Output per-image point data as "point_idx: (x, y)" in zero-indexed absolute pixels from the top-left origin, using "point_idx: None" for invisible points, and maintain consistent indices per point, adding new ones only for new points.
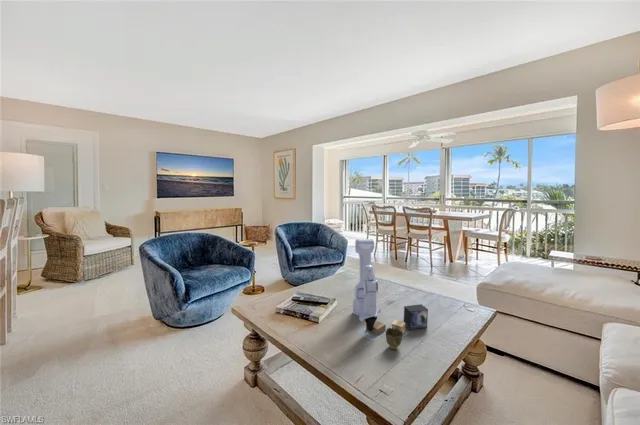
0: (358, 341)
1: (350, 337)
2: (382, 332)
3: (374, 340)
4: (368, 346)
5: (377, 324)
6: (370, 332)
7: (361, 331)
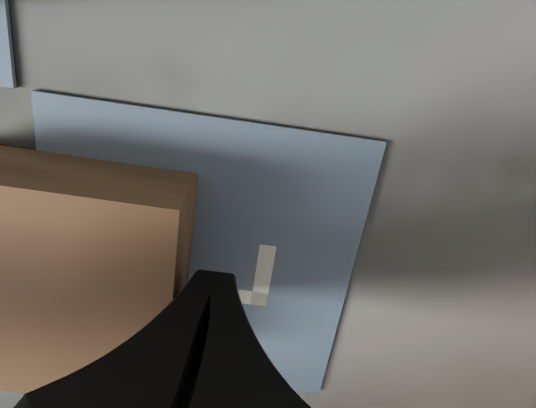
0: (476, 283)
1: (440, 379)
2: (73, 146)
3: (353, 137)
4: (533, 134)
5: (27, 282)
6: None
7: None
